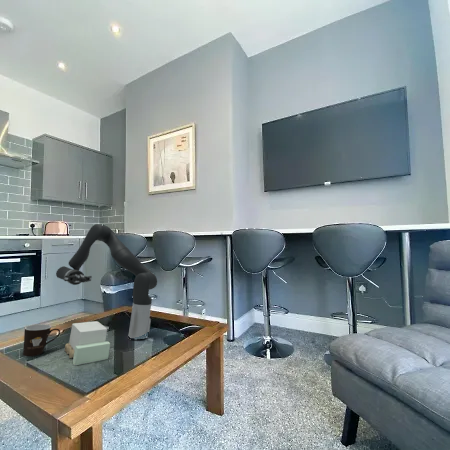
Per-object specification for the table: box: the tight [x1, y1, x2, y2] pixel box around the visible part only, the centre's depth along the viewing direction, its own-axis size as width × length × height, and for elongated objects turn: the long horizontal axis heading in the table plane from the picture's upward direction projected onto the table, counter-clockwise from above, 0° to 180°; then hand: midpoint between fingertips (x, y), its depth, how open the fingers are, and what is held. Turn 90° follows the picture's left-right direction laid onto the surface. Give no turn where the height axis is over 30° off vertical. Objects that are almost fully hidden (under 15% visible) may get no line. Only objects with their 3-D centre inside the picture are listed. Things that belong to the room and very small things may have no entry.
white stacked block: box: [68, 320, 108, 351], centre depth 103 cm, size 10×13×8 cm
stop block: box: [72, 340, 111, 366], centre depth 97 cm, size 12×3×6 cm, turn 134°
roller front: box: [68, 349, 74, 359], centre depth 101 cm, size 12×3×3 cm
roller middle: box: [66, 346, 73, 355], centre depth 105 cm, size 12×3×3 cm
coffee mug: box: [22, 323, 61, 357], centre depth 99 cm, size 12×9×10 cm
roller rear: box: [64, 342, 71, 352], centre depth 107 cm, size 12×3×3 cm, turn 134°
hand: (83, 280), depth 120 cm, fingers closed
